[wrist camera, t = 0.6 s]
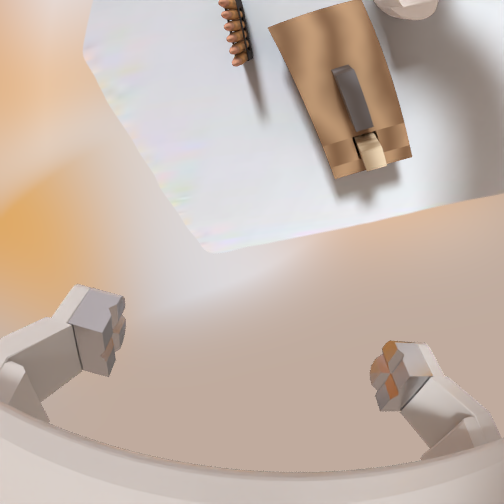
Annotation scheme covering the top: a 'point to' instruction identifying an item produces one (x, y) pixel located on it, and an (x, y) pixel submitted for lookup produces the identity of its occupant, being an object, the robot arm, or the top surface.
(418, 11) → the base with upright slab
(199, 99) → the top surface
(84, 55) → the top surface
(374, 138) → the pin
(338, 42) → the lid
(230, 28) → the ammunition clip
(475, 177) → the top surface
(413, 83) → the top surface
